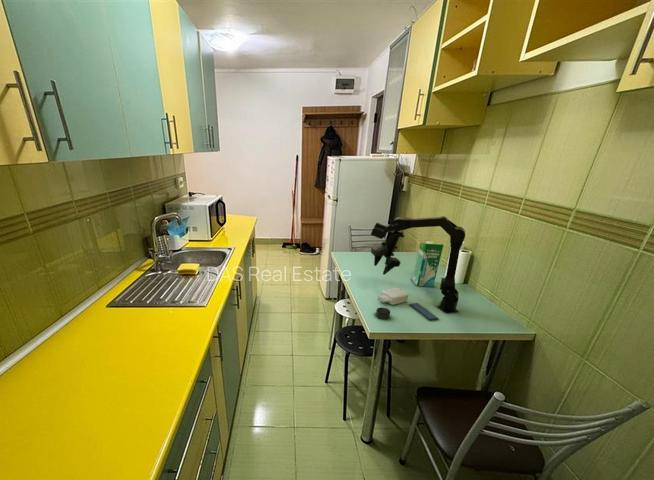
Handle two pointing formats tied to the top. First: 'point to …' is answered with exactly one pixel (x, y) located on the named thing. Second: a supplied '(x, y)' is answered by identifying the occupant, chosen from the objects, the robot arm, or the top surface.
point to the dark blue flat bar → (424, 311)
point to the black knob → (383, 313)
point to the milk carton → (427, 264)
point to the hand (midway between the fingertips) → (379, 269)
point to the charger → (393, 296)
